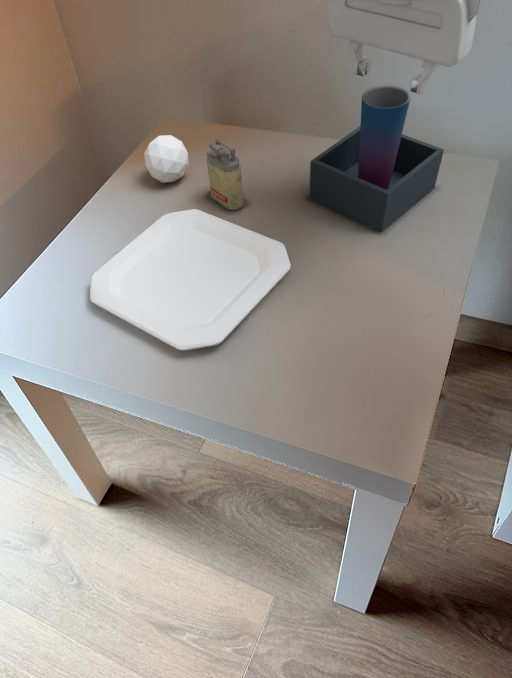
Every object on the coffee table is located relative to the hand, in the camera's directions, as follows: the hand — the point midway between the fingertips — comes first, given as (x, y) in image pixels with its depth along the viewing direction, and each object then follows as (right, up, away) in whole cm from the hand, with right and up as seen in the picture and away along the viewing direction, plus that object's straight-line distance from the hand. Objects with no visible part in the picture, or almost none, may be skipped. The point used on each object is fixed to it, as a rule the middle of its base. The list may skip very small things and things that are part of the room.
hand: (388, 82), depth 76 cm
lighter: (-22, -11, +17) cm, 30 cm away
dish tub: (+1, -10, +14) cm, 18 cm away
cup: (+2, -10, +14) cm, 17 cm away
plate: (-28, -27, +6) cm, 39 cm away
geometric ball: (-33, -5, +23) cm, 40 cm away
